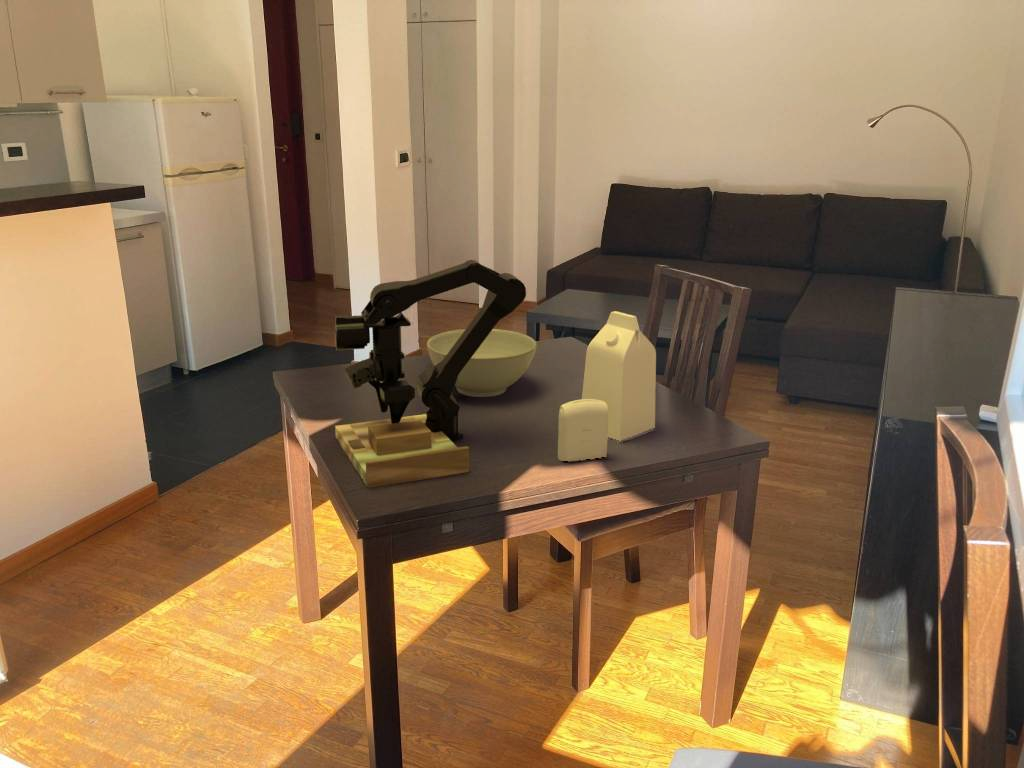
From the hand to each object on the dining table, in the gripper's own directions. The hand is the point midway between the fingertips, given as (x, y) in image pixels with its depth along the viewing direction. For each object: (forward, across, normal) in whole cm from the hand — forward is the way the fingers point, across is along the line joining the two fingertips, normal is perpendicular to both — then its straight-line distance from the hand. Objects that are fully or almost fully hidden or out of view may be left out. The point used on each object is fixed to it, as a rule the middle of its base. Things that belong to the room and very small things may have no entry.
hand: (389, 419), depth 179 cm
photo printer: (+5, +22, +34) cm, 41 cm away
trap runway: (+5, +6, 0) cm, 8 cm away
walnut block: (+2, +9, 0) cm, 9 cm away
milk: (+5, +10, +48) cm, 50 cm away
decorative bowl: (+5, -26, +30) cm, 40 cm away
